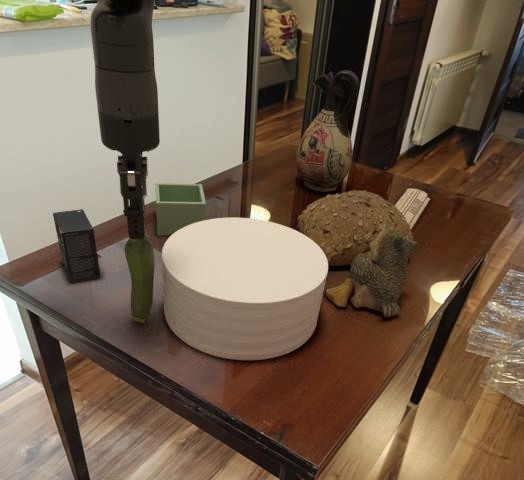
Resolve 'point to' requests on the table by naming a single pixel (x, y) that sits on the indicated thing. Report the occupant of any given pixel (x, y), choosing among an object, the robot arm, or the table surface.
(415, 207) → the newspaper
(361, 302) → the figurine
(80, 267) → the box
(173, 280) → the plate stack
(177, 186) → the bin
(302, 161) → the ceramic jug
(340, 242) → the bread
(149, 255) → the vegetable
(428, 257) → the table surface
